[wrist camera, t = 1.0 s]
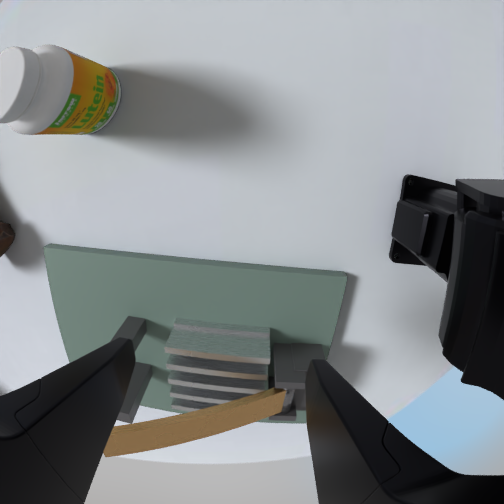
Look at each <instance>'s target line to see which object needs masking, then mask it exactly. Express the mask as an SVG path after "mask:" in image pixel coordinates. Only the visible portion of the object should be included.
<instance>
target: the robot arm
mask: <svg viewBox="0 0 504 504" xmlns="http://www.w3.org/2000/svg"><path fill="white" fill-rule="evenodd" d="M409 179H411V181H412V182H411V184H410V185H409V184H408V180H409ZM392 237H393V239H392V244H391V248H390V253H389V258H390V259H391V260H392V261H393V262H395V263H403V264H414V265H424V266H428V267H429V268H430V269H432V270H433V271H434V272H435V273H437V274H438V275H439V276H440V277H441V278H443V279H444V280H445V281H446V282H447V283H448V284H447V291H446V297H445V303H444V308H443V313H442V318H441V323H440V329H439V338H440V341H441V344H442V347H443V352H442V353H443V355H444V356H445V357H446V359H447V360H448V361H449V362H450V363H451V364H452V365H454V366H455V367H456V368H458V369H459V370H460V371H462V372H463V375H462V378H461V382H462V383H465V384H469V385H474V386H479V387H481V388H484V389H486V390H488V391H491V392H493V393H494V394H496V395H497V396H499V397H500V398H502V399H503V400H504V180H498V179H456V186H454V185H450V184H447V183H443V182H439V181H435V180H431V179H427V178H423V177H418V176H414V175H405V176H404V178H403V182H402V189H401V195H400V200H399V201H398V203H397V208H396V213H395V219H394V224H393V229H392ZM396 253H398V256H397V257H396V258H394V255H395V254H396ZM135 363H136V357H135V351H134V345H133V341H132V339H130V338H126V337H118V338H116V339H114V340H113V341H111V342H109V343H107V344H105V345H103V346H101V347H99V348H97V349H95V350H94V351H92V352H90V353H88V354H86V355H84V356H82V357H80V358H78V359H76V360H74V361H73V362H71V363H69V364H67V365H65V366H63V367H61V368H59V369H57V370H55V371H53V372H51V373H49V374H48V375H46V376H44V377H42V378H41V379H38V380H36V381H34V382H32V383H30V384H28V385H26V386H24V387H21V388H19V389H17V390H15V391H12V392H10V393H7V394H5V395H2V396H0V504H84V503H83V502H85V499H86V497H87V494H88V491H89V489H90V485H91V483H92V480H93V477H94V475H95V472H96V470H97V467H98V464H99V462H100V459H101V456H102V454H103V452H104V449H105V447H106V444H107V442H108V439H109V437H110V434H111V432H112V429H113V427H114V425H115V422H116V420H117V417H118V415H119V413H120V410H121V408H122V405H123V403H124V400H125V397H126V394H127V390H128V387H129V383H130V380H131V377H132V374H133V370H134V367H135ZM305 393H306V421H307V430H308V436H309V442H310V449H311V455H312V461H313V467H314V474H315V481H316V487H317V494H318V500H319V504H504V475H498V476H497V475H494V476H492V475H488V476H487V475H464V474H459V473H457V472H454V471H452V470H450V469H448V468H447V467H445V466H444V465H442V464H441V463H440V462H438V461H437V460H435V459H434V458H432V457H431V456H430V455H429V454H427V453H426V452H424V451H423V450H422V449H420V448H419V447H418V446H416V445H415V444H414V443H413V442H411V441H410V440H409V439H408V438H406V437H405V436H404V435H403V434H402V433H401V432H399V430H397V429H396V428H395V427H394V426H393V425H392V424H391V423H388V420H387V419H386V418H385V417H384V416H382V415H381V414H380V413H379V412H378V411H377V410H376V409H375V408H374V407H373V406H372V405H371V404H370V403H369V402H368V401H367V400H366V399H365V398H364V397H363V396H362V395H361V394H360V393H359V392H357V391H356V390H355V389H354V388H353V387H352V386H351V385H350V384H349V383H348V382H347V381H346V380H345V379H344V378H343V377H342V376H341V375H340V374H339V373H338V372H337V371H336V370H335V369H334V368H333V367H332V366H331V365H330V364H329V363H328V362H327V361H326V360H325V359H316V358H313V359H311V361H310V363H309V367H308V371H307V375H306V379H305Z"/></svg>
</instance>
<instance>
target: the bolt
mask: <svg viewBox="0 0 504 504" xmlns="http://www.w3.org/2000/svg"><path fill="white" fill-rule="evenodd" d="M14 236H15V233H14V231H13V230H12V228H11V226H10V224H7V223H3V222H0V257H1V256H2V255H3V254H4V253H5V252H6V251H7V250H8V249H9V247H10V246H11V244H12V243H13V240H14Z"/></svg>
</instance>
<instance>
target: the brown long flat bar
mask: <svg viewBox="0 0 504 504" xmlns="http://www.w3.org/2000/svg"><path fill="white" fill-rule="evenodd" d="M294 393H295V389H283V388H275V387H274V388H271V389H268V390H265V391H262V392H259V393H256V394H253V395H250V396H247V397H243V398H240V399H237V400H233V401H230V402H227V403H223V404H219V405H216V406H212V407H208V408H204V409H201V410H197V411H192V412H188V413H184V414H180V415H175V416H171V417H166V418H161V419H156V420H151V421H145V422H140V423H134V424H128V425H121V426H114V427H113V429H112V432H111V434H110V437H109V439H108V442H107V444H106V447H105V449H104V452H103V453H104V455H105V457H111V456H119V455H125V454H132V453H138V452H143V451H149V450H154V449H159V448H164V447H168V446H173V445H177V444H181V443H186V442H190V441H193V440H197V439H201V438H205V437H208V436H212V435H215V434H219V433H222V432H225V431H229V430H232V429H235V428H238V427H241V426H244V425H247V424H250V423H253V422H256V421H259V420H261V419H264V418H267V417H270V416H272V415H275V414H277V413H280V414H287V413H289V411H290V408H291V404H292V400H293V396H294Z"/></svg>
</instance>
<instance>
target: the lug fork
mask: <svg viewBox="0 0 504 504" xmlns="http://www.w3.org/2000/svg"><path fill="white" fill-rule="evenodd" d="M146 332H147V328H146V319H145V318H139V317H133V316H128V317H127V318H126V320H125V321H124V322H123V324H122V325H121V327H120V328H119V329H118V331H117V332H116V334H115V335H114V337H113V338H112V339H111V341H113V340H114V339H116V338H118V337H126V338H130V339H132V341H133V345H134V351H136V349H137V348H138V346H139V344H140V342H141V341H142V339H143V337H144V335H145V334H146ZM111 341H110V342H111ZM152 375H153V373H152V366H151V364H145V363H140V362H136V363H135V367H134V370H133V374H132V377H131V380H130V383H129V387H128V390H127V394H126V397H125V400H124V403H123V405H122V408H121V410H120V413H119V415H118V417H117V420H119V421H123V422H127V423H131V424H132V422H133V420H134V417H135V415H136V413H137V410H138V408H139V405H140V403H141V401H142V398H143V396H144V394H145V391H146V389H147V387H148V384H149V382H150V380H151V377H152Z"/></svg>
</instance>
